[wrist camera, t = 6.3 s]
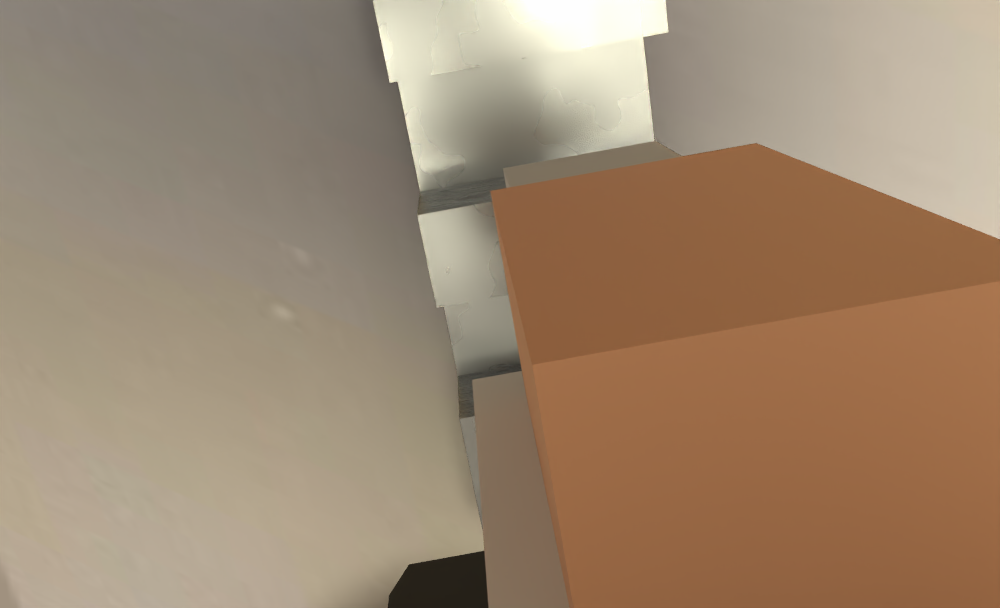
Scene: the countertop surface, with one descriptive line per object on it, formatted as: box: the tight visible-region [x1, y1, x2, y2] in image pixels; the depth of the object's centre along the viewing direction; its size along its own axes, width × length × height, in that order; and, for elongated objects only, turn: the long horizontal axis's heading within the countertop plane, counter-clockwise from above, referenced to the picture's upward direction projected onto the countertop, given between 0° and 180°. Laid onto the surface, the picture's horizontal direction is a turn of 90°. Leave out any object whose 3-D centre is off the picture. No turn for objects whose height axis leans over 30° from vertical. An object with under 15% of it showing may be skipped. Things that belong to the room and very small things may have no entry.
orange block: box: [490, 141, 1000, 608], centre depth 12 cm, size 9×4×10 cm, turn 10°
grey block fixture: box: [373, 0, 668, 529], centre depth 25 cm, size 20×7×4 cm, turn 10°
